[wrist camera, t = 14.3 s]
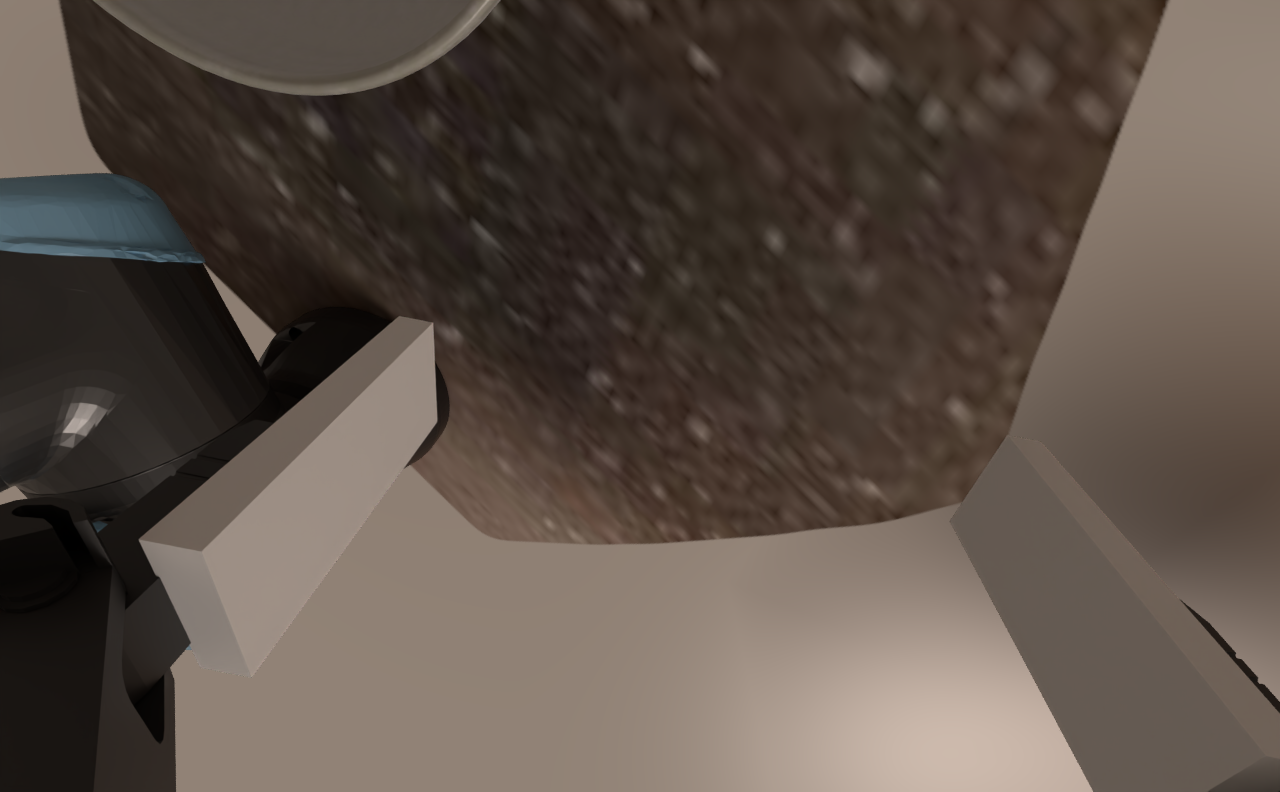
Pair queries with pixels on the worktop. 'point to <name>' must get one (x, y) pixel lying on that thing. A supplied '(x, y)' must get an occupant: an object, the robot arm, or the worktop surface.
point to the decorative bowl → (304, 38)
